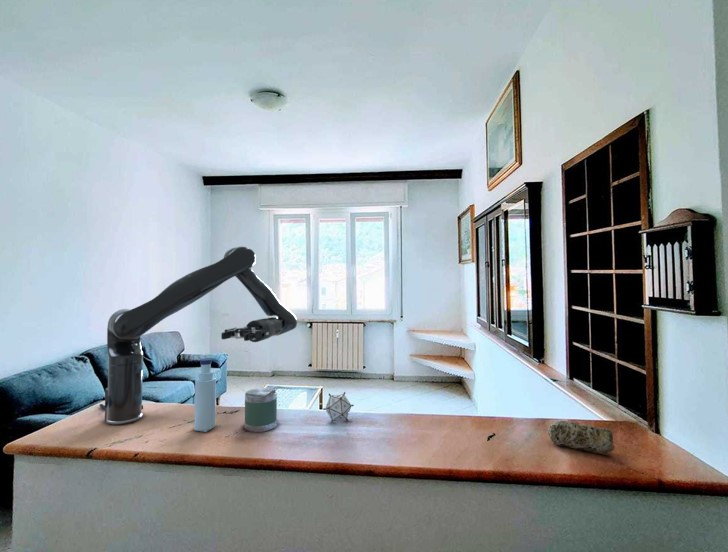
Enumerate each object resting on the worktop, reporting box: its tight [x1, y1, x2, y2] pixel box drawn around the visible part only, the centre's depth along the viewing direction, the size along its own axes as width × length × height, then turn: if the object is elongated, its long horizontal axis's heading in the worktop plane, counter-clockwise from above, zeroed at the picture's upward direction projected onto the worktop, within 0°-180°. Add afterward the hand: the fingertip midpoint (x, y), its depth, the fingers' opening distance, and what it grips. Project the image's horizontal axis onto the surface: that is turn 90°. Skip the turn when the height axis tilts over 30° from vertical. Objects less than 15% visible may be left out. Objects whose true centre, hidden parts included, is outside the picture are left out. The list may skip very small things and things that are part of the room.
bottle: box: [193, 357, 217, 433], centre depth 115 cm, size 6×6×20 cm
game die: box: [322, 391, 355, 424], centre depth 121 cm, size 9×8×10 cm
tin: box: [244, 386, 278, 433], centre depth 117 cm, size 9×9×10 cm
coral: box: [547, 419, 615, 456], centre depth 102 cm, size 14×6×6 cm, turn 58°
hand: (233, 336), depth 128 cm, fingers open, 8 cm apart
